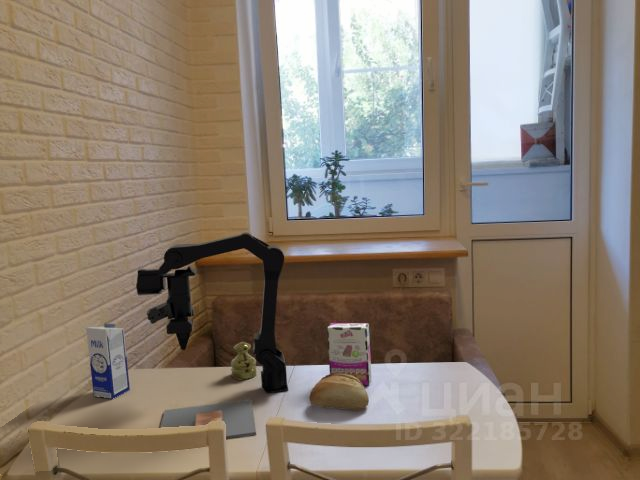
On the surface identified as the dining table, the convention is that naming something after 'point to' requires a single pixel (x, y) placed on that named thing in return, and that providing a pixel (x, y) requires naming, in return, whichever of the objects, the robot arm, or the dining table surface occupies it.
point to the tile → (208, 417)
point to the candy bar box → (350, 350)
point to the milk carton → (108, 360)
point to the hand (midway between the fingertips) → (183, 349)
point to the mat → (233, 414)
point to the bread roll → (339, 392)
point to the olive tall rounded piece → (243, 362)
